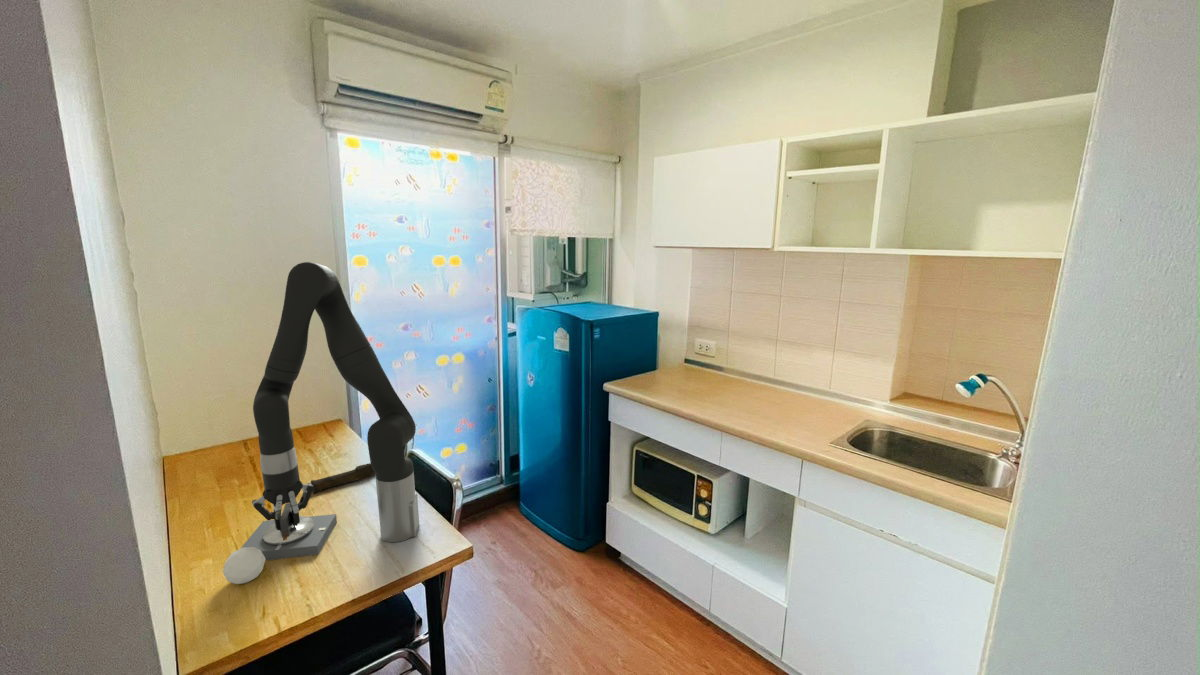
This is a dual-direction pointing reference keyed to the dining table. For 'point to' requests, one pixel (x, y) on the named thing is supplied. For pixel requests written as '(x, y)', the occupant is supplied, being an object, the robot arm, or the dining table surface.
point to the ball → (244, 565)
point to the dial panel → (297, 548)
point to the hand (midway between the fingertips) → (288, 527)
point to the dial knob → (287, 529)
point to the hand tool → (343, 477)
